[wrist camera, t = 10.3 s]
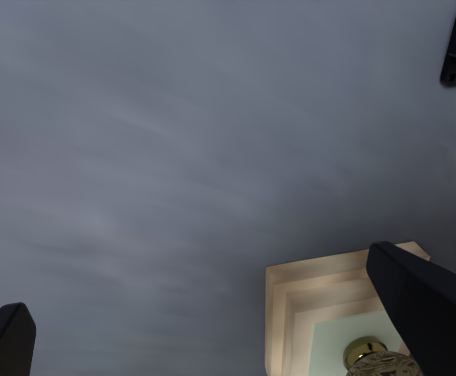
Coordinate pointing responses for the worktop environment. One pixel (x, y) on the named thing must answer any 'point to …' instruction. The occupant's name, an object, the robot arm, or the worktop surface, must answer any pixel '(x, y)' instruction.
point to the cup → (377, 360)
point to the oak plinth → (324, 313)
